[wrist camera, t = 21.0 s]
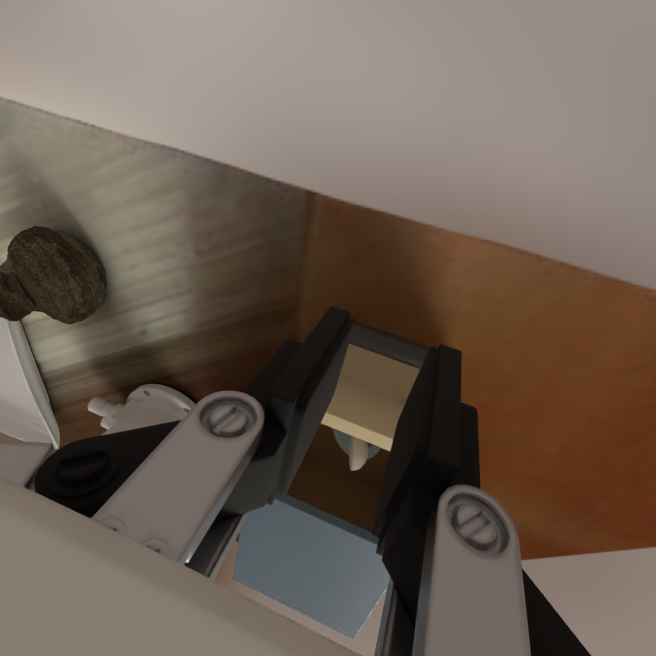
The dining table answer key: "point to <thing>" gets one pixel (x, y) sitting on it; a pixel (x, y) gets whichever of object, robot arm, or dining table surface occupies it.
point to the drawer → (359, 425)
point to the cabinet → (312, 563)
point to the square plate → (23, 390)
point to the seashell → (50, 277)
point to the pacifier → (355, 449)
